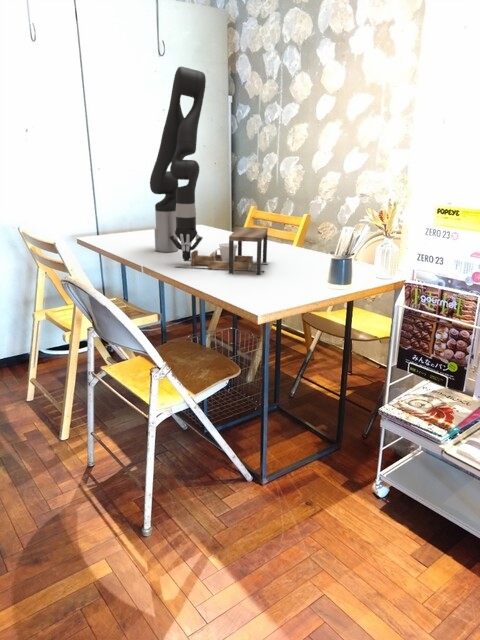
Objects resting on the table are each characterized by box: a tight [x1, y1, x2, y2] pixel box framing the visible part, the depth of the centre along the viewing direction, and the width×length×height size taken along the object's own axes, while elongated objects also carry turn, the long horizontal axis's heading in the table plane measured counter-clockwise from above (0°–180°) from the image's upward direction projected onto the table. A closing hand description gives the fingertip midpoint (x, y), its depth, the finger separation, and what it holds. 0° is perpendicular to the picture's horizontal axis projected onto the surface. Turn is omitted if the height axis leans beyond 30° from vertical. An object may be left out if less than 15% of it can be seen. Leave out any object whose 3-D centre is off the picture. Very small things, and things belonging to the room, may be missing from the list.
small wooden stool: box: [228, 226, 269, 276], centre depth 189 cm, size 12×22×14 cm, turn 171°
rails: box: [174, 259, 269, 273], centre depth 192 cm, size 34×13×1 cm, turn 81°
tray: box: [190, 249, 254, 270], centre depth 192 cm, size 22×13×4 cm, turn 81°
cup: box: [213, 242, 238, 262], centre depth 192 cm, size 7×10×8 cm
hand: (186, 260), depth 194 cm, fingers closed
